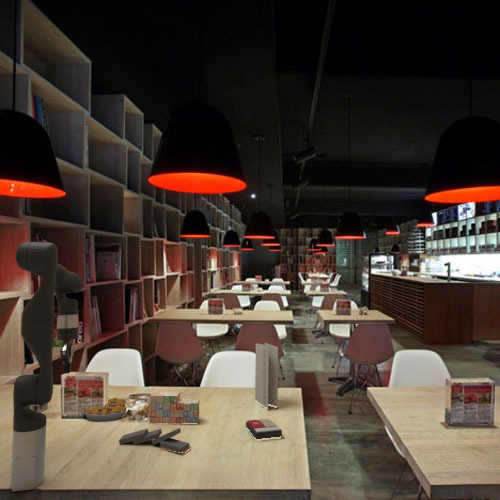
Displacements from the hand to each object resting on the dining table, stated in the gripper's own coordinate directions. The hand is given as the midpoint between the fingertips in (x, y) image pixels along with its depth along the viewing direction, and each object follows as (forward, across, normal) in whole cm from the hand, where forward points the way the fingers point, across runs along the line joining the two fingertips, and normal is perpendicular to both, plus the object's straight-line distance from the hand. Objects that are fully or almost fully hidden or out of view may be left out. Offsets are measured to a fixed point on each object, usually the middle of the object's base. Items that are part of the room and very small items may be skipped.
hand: (67, 373), depth 153 cm
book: (+31, +3, -76) cm, 82 cm away
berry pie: (+26, +37, -10) cm, 46 cm away
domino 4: (+28, -4, -36) cm, 45 cm away
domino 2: (+28, +2, -24) cm, 37 cm away
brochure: (+29, +36, -86) cm, 97 cm away
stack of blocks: (+28, +22, -40) cm, 54 cm away
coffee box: (+24, +46, +24) cm, 57 cm away
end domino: (+29, -4, -36) cm, 46 cm away
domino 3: (+28, -1, -32) cm, 43 cm away
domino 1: (+27, +4, -19) cm, 34 cm away
